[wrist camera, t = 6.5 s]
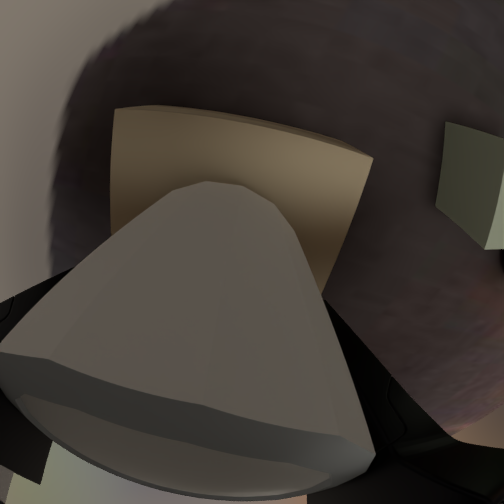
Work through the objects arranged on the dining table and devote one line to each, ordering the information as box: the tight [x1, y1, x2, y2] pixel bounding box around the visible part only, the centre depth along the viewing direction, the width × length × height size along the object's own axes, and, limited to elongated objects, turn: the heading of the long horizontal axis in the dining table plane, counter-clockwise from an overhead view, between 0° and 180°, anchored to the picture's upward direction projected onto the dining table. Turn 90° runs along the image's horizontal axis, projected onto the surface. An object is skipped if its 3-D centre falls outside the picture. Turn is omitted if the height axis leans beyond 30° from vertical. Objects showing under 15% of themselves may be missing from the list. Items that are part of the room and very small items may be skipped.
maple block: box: [110, 105, 373, 294], centre depth 12 cm, size 9×9×4 cm
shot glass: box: [0, 181, 376, 501], centre depth 6 cm, size 7×7×7 cm
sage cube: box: [435, 121, 504, 250], centre depth 9 cm, size 5×5×5 cm
